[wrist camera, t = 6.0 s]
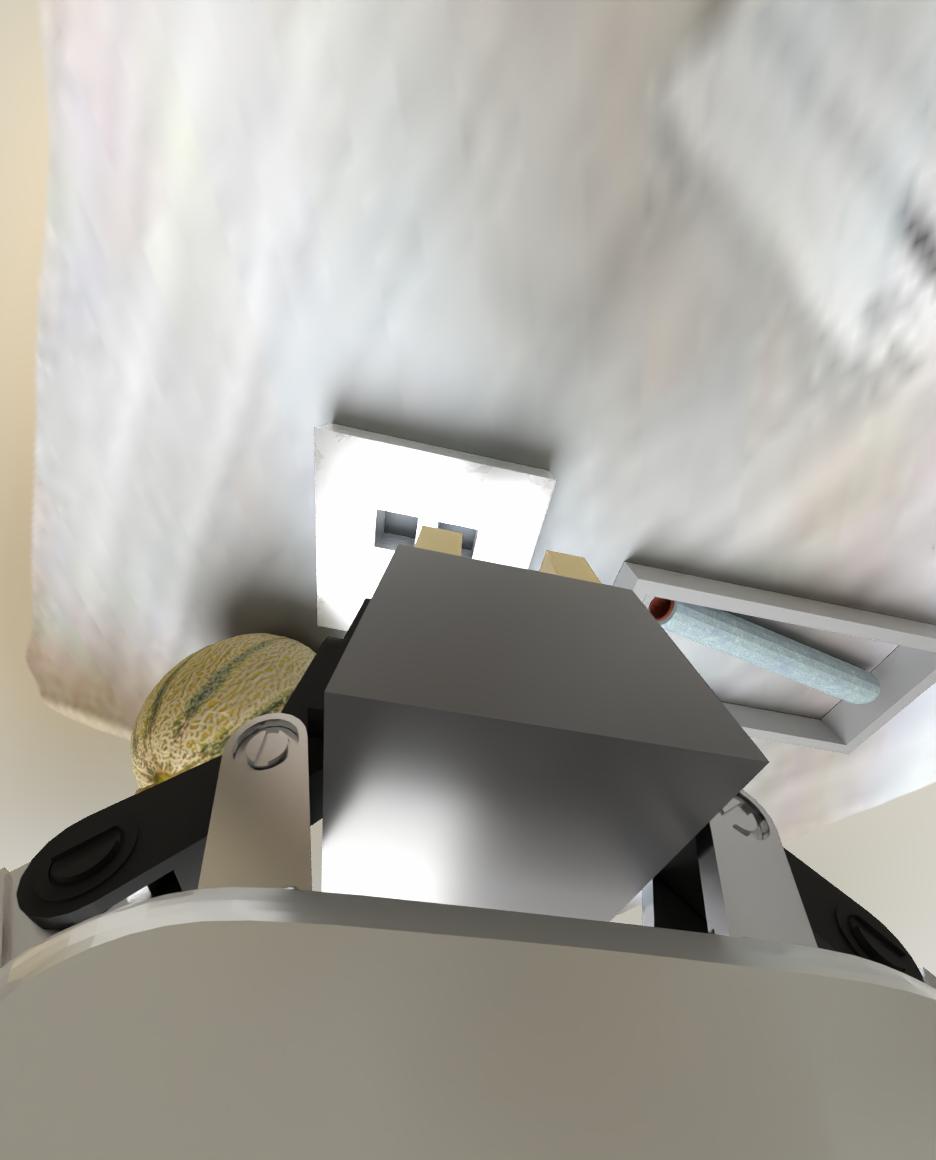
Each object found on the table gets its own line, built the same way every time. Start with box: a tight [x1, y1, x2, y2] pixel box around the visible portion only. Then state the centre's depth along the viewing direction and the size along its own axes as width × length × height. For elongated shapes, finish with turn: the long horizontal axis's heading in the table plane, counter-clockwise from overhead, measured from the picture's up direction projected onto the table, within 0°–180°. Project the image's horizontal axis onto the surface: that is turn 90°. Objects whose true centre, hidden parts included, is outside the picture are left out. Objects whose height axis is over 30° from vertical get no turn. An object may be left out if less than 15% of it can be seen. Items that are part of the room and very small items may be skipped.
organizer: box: [613, 562, 936, 754], centre depth 32 cm, size 14×29×3 cm, turn 79°
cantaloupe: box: [131, 633, 316, 794], centre depth 30 cm, size 15×15×15 cm
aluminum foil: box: [648, 597, 881, 704], centre depth 31 cm, size 23×7×3 cm, turn 67°
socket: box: [314, 423, 557, 631], centre depth 28 cm, size 16×16×3 cm
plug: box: [322, 525, 769, 922], centre depth 10 cm, size 6×6×8 cm
